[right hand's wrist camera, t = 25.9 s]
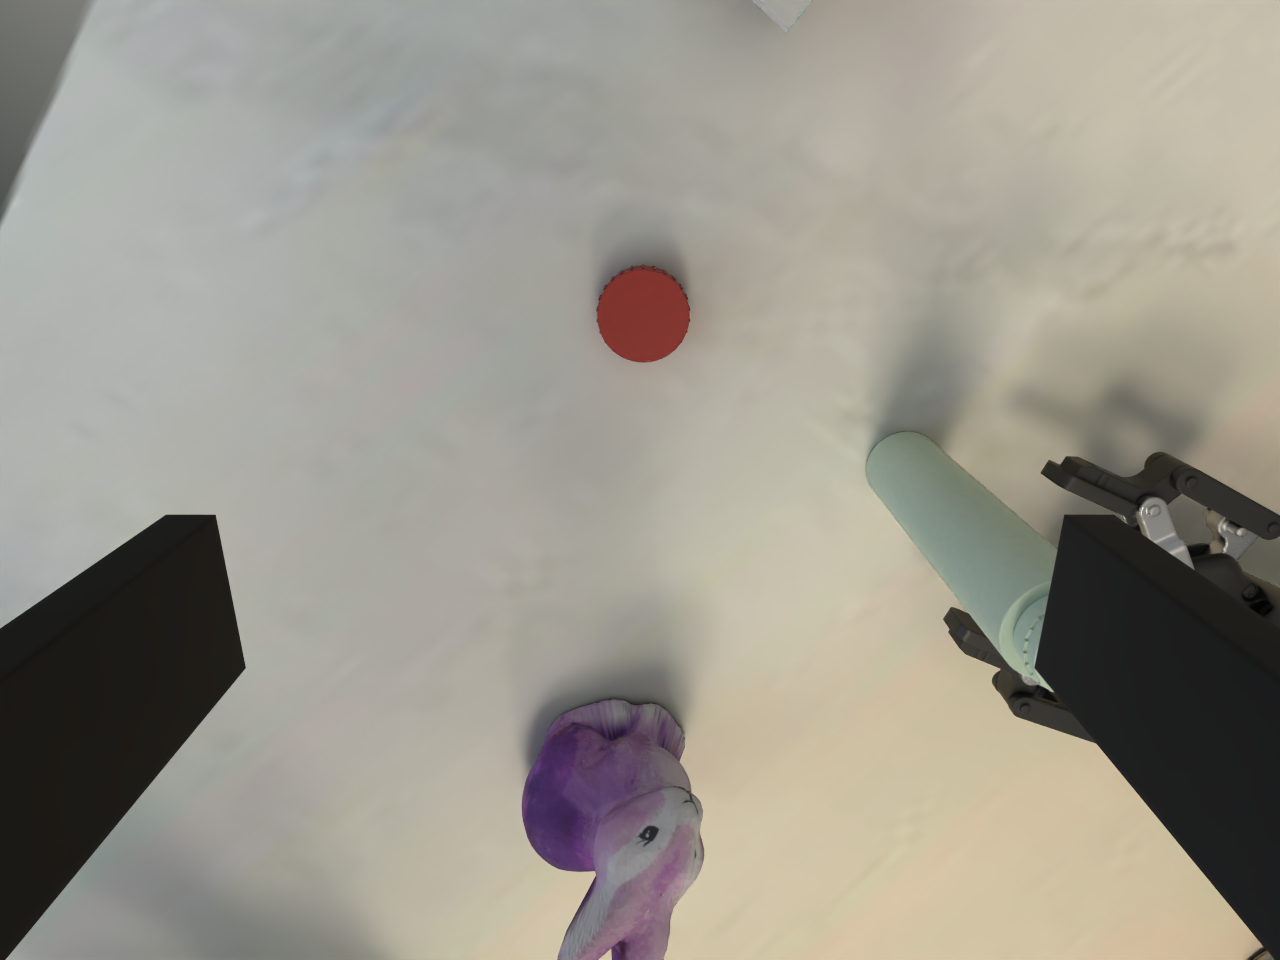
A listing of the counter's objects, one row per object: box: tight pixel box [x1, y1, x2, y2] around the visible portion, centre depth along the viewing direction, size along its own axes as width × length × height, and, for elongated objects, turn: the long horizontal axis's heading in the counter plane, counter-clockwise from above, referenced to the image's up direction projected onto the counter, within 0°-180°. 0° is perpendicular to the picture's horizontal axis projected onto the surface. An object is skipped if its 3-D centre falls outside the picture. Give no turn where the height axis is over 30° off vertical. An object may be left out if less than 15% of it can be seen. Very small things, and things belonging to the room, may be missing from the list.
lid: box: [597, 265, 690, 362], centre depth 40 cm, size 5×5×2 cm
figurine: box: [522, 699, 704, 960], centre depth 42 cm, size 9×10×15 cm
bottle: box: [866, 432, 1057, 692], centre depth 35 cm, size 4×4×19 cm
